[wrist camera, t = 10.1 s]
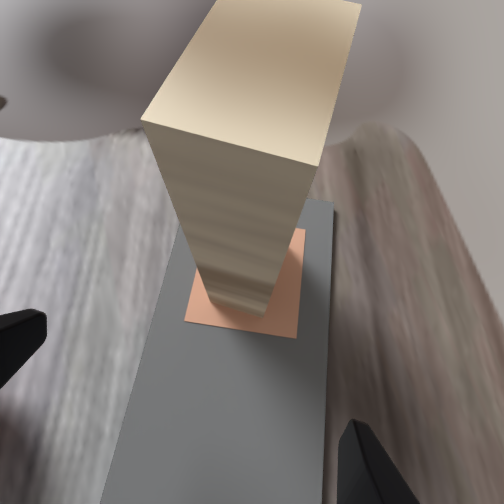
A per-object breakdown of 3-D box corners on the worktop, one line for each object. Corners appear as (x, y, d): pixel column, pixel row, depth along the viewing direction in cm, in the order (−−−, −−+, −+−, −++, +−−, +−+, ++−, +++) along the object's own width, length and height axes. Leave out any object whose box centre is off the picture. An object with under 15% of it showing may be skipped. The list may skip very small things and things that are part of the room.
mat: (311, 661, 12) (315, 677, 11) (72, 617, 12) (63, 629, 12) (331, 206, 21) (334, 201, 20) (192, 186, 21) (191, 180, 20)
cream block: (262, 318, 17) (318, 167, 5) (210, 301, 17) (139, 119, 5) (284, 243, 19) (362, 4, 7) (237, 229, 19) (231, -23, 7)
